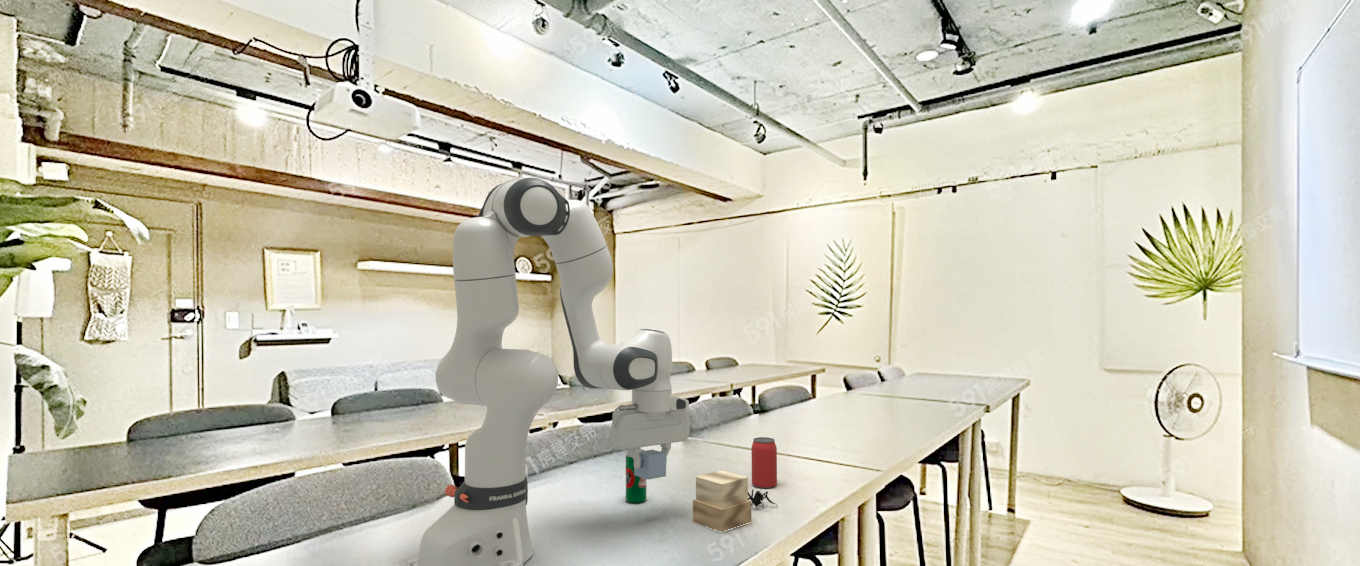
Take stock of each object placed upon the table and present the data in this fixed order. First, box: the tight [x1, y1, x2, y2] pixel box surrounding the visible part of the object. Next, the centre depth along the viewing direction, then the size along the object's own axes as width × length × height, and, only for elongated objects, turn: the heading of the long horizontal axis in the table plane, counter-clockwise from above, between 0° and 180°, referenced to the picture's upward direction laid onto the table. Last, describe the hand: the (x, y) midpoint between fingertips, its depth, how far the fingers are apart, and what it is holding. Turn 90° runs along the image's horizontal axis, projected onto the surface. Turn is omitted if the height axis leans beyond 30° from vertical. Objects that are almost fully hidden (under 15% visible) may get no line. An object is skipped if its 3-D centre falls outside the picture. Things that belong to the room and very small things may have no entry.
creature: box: [748, 486, 778, 509], centre depth 145 cm, size 8×5×8 cm
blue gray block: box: [634, 449, 667, 480], centre depth 136 cm, size 5×5×5 cm
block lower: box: [692, 498, 752, 532], centre depth 134 cm, size 9×9×5 cm
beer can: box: [751, 436, 778, 489], centre depth 162 cm, size 7×7×12 cm
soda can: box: [625, 448, 648, 504], centre depth 149 cm, size 5×5×12 cm
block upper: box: [695, 469, 749, 509], centre depth 135 cm, size 8×8×5 cm
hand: (650, 465), depth 136 cm, fingers closed on blue gray block, 5 cm apart
